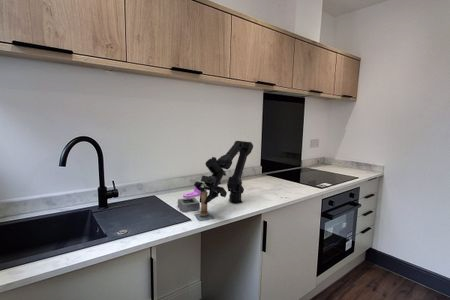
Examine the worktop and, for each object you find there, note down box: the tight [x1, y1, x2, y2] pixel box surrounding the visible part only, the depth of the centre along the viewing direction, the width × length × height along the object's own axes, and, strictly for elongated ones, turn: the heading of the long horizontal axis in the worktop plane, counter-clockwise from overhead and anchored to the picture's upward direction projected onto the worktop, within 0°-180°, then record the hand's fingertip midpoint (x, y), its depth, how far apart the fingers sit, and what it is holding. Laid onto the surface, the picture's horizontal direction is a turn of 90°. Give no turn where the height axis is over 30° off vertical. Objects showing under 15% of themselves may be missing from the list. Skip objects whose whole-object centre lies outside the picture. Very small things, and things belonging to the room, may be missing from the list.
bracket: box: [183, 185, 201, 199], centre depth 159 cm, size 13×6×7 cm, turn 129°
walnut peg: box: [199, 190, 210, 216], centre depth 126 cm, size 5×5×12 cm
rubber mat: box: [194, 212, 215, 222], centre depth 127 cm, size 8×8×1 cm
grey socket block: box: [177, 197, 201, 213], centre depth 138 cm, size 10×10×4 cm
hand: (202, 202), depth 124 cm, fingers closed on walnut peg, 3 cm apart
